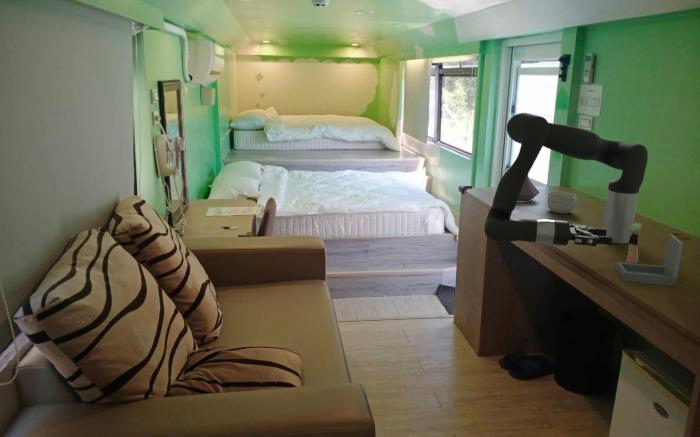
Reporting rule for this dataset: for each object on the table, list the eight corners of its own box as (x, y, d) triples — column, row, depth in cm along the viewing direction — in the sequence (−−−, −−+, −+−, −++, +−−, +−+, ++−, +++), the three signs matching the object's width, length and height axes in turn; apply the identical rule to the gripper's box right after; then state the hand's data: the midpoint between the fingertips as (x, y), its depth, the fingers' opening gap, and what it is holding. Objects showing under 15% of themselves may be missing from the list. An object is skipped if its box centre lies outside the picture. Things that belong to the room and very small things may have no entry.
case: (615, 270, 153) (622, 230, 150) (665, 274, 150) (672, 234, 147) (623, 280, 145) (629, 239, 141) (675, 286, 141) (683, 243, 138)
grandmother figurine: (638, 268, 154) (645, 227, 151) (624, 266, 155) (630, 225, 152) (636, 260, 161) (642, 220, 158) (622, 259, 162) (628, 219, 159)
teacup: (541, 209, 223) (543, 190, 221) (564, 208, 225) (567, 190, 223) (559, 217, 210) (562, 198, 207) (584, 216, 211) (587, 197, 209)
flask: (501, 194, 249) (505, 152, 244) (538, 197, 244) (543, 154, 239) (499, 202, 234) (503, 157, 228) (538, 205, 229) (543, 159, 223)
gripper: (555, 226, 154) (616, 231, 150) (550, 214, 167) (606, 218, 163) (552, 251, 156) (612, 256, 152) (547, 237, 169) (602, 241, 165)
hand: (609, 236), depth 158 cm, fingers open, 8 cm apart
